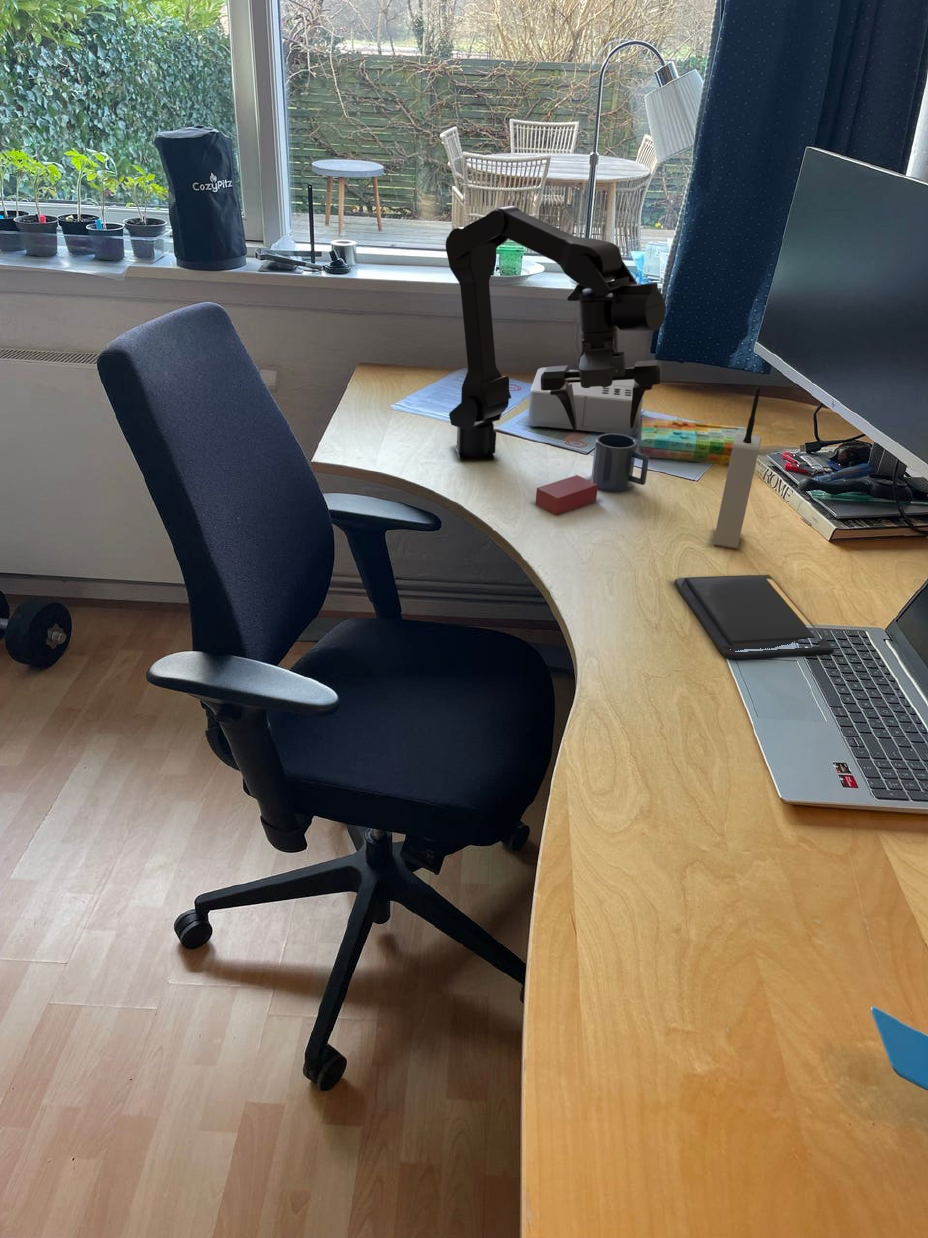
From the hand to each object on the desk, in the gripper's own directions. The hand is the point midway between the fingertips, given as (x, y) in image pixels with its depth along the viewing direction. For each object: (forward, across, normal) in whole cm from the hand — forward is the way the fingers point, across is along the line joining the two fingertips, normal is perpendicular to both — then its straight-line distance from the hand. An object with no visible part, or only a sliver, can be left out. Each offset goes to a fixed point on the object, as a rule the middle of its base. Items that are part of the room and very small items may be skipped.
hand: (603, 428), depth 150 cm
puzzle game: (+13, +13, +28) cm, 34 cm away
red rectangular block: (+12, -6, -2) cm, 14 cm away
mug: (+12, +1, +8) cm, 15 cm away
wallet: (+19, +22, -30) cm, 42 cm away
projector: (+8, -8, +39) cm, 41 cm away
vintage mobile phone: (+17, +20, -8) cm, 27 cm away
